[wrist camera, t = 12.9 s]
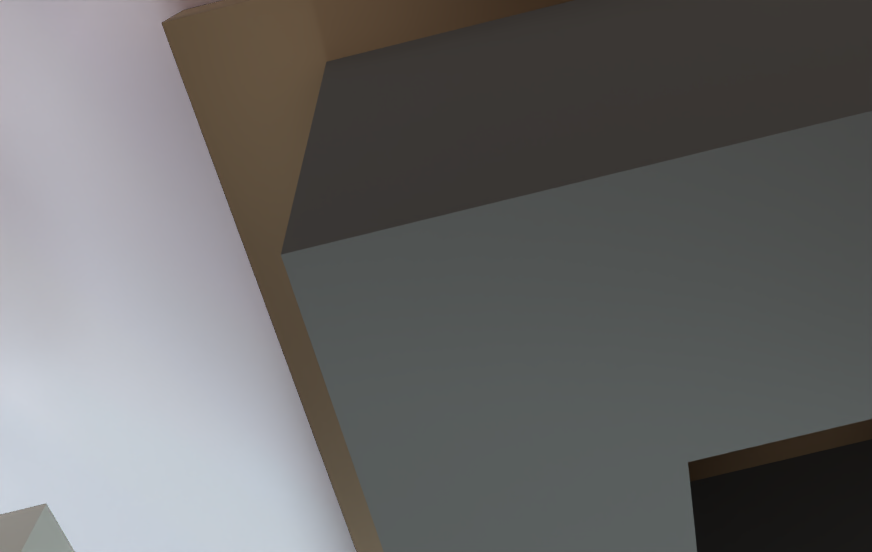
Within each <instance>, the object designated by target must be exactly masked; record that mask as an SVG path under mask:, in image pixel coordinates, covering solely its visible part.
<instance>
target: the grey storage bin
mask: <svg viewBox="0 0 872 552" xmlns="http://www.w3.org/2000/svg"><path fill="white" fill-rule="evenodd" d="M281 257H282V260H283V263H284V266H285V269H286V271H287V274H288V277H289V280H290V283H291V286H292V289H293V292H294V295H295V297H296V300H297V303H298V306H299V309H300V312H301V315H302V318H303V321H304V323H305V326H306V329H307V332H308V335H309V338H310V341H311V344H312V346H313V349H314V352H315V355H316V358H317V361H318V364H319V367H320V370H321V372H322V375H323V378H324V381H325V384H326V387H327V390H328V393H329V395H330V398H331V401H332V404H333V407H334V410H335V413H336V416H337V419H338V421H339V424H340V427H341V430H342V433H343V436H344V439H345V442H346V444H347V447H348V450H349V453H350V456H351V459H352V462H353V465H354V468H355V470H356V473H357V476H358V479H359V482H360V485H361V488H362V491H363V494H364V496H365V499H366V502H367V505H368V508H369V511H370V514H371V517H372V519H373V522H374V525H375V528H376V531H377V534H378V537H379V540H380V543H381V545H382V548H383V551H384V552H872V439H870V440H866V441H862V442H857V443H853V444H849V445H845V446H840V447H836V448H832V449H828V450H823V451H819V452H815V453H810V454H806V455H802V456H798V457H793V458H789V459H785V460H781V461H776V462H772V463H768V464H764V465H759V466H755V467H751V468H747V469H742V470H738V471H734V472H730V473H725V474H721V475H717V476H713V477H708V478H704V479H700V480H695V481H691V482H690V478H689V468H688V462H691V461H695V460H699V459H704V458H708V457H712V456H716V455H721V454H725V453H729V452H733V451H738V450H742V449H746V448H750V447H755V446H759V445H763V444H767V443H772V442H776V441H780V440H784V439H789V438H793V437H797V436H801V435H806V434H810V433H814V432H818V431H823V430H827V429H831V428H835V427H840V426H844V425H848V424H852V423H857V422H861V421H865V420H869V419H872V0H573V1H569V2H565V3H561V4H557V5H553V6H549V7H545V8H541V9H537V10H533V11H529V12H525V13H521V14H517V15H513V16H509V17H505V18H501V19H497V20H493V21H489V22H484V23H480V24H476V25H472V26H468V27H464V28H460V29H456V30H452V31H448V32H444V33H440V34H436V35H432V36H428V37H424V38H420V39H416V40H412V41H408V42H404V43H400V44H396V45H392V46H388V47H384V48H380V49H376V50H372V51H368V52H364V53H360V54H356V55H352V56H348V57H343V58H339V59H335V60H331V61H327V62H326V65H325V69H324V74H323V78H322V82H321V86H320V91H319V95H318V99H317V103H316V107H315V112H314V116H313V120H312V124H311V129H310V133H309V137H308V141H307V146H306V150H305V154H304V158H303V162H302V167H301V171H300V175H299V179H298V184H297V188H296V192H295V196H294V200H293V205H292V209H291V213H290V217H289V222H288V226H287V230H286V234H285V239H284V243H283V247H282V251H281Z"/></svg>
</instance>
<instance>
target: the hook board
mask: <svg viewBox="0 0 872 552" xmlns="http://www.w3.org/2000/svg"><path fill="white" fill-rule="evenodd" d="M569 1H573V0H222V1H218V2H214V3H210V4H206V5H202V6H198V7H194V8H190V9H186V10H183V11H181V12H179V13H178V14H176V15H174V16H173V17H171V18H169V19H167V20H166V21H164V22H162V26H163V28H164V31H165V34H166V36H167V39H168V42H169V45H170V47H171V50H172V53H173V55H174V58H175V61H176V64H177V66H178V69H179V72H180V74H181V77H182V80H183V83H184V85H185V88H186V91H187V93H188V96H189V99H190V101H191V104H192V107H193V110H194V112H195V115H196V118H197V120H198V123H199V126H200V129H201V131H202V134H203V137H204V139H205V142H206V145H207V148H208V150H209V153H210V156H211V158H212V161H213V164H214V167H215V169H216V172H217V175H218V177H219V180H220V183H221V186H222V188H223V191H224V194H225V196H226V199H227V202H228V204H229V207H230V210H231V213H232V215H233V218H234V221H235V223H236V226H237V229H238V232H239V234H240V237H241V240H242V242H243V245H244V248H245V251H246V253H247V256H248V259H249V261H250V264H251V267H252V270H253V272H254V275H255V278H256V280H257V283H258V286H259V289H260V291H261V294H262V297H263V299H264V302H265V305H266V307H267V310H268V313H269V316H270V318H271V321H272V324H273V326H274V329H275V332H276V335H277V337H278V340H279V343H280V345H281V348H282V351H283V354H284V356H285V359H286V362H287V364H288V367H289V370H290V373H291V375H292V378H293V381H294V383H295V386H296V389H297V392H298V394H299V397H300V400H301V402H302V405H303V408H304V410H305V413H306V416H307V419H308V421H309V424H310V427H311V429H312V432H313V435H314V438H315V440H316V443H317V446H318V448H319V451H320V454H321V457H322V459H323V462H324V465H325V467H326V470H327V473H328V476H329V478H330V481H331V484H332V486H333V489H334V492H335V495H336V497H337V500H338V503H339V505H340V508H341V511H342V513H343V516H344V519H345V522H346V524H347V527H348V530H349V532H350V535H351V538H352V541H353V543H354V546H355V549H356V551H357V552H384V551H383V548H382V545H381V543H380V540H379V537H378V534H377V531H376V528H375V525H374V522H373V519H372V517H371V514H370V511H369V508H368V505H367V502H366V499H365V496H364V494H363V491H362V488H361V485H360V482H359V479H358V476H357V473H356V470H355V468H354V465H353V462H352V459H351V456H350V453H349V450H348V447H347V444H346V442H345V439H344V436H343V433H342V430H341V427H340V424H339V421H338V419H337V416H336V413H335V410H334V407H333V404H332V401H331V398H330V395H329V393H328V390H327V387H326V384H325V381H324V378H323V375H322V372H321V370H320V367H319V364H318V361H317V358H316V355H315V352H314V349H313V346H312V344H311V341H310V338H309V335H308V332H307V329H306V326H305V323H304V321H303V318H302V315H301V312H300V309H299V306H298V303H297V300H296V297H295V295H294V292H293V289H292V286H291V283H290V280H289V277H288V274H287V271H286V269H285V266H284V263H283V260H282V257H281V251H282V247H283V243H284V239H285V234H286V230H287V226H288V222H289V217H290V213H291V209H292V205H293V200H294V196H295V192H296V188H297V184H298V179H299V175H300V171H301V167H302V162H303V158H304V154H305V150H306V146H307V141H308V137H309V133H310V129H311V124H312V120H313V116H314V112H315V107H316V103H317V99H318V95H319V91H320V86H321V82H322V78H323V74H324V69H325V65H326V62H327V61H331V60H335V59H339V58H343V57H348V56H352V55H356V54H360V53H364V52H368V51H372V50H376V49H380V48H384V47H388V46H392V45H396V44H400V43H404V42H408V41H412V40H416V39H420V38H424V37H428V36H432V35H436V34H440V33H444V32H448V31H452V30H456V29H460V28H464V27H468V26H472V25H476V24H480V23H484V22H489V21H493V20H497V19H501V18H505V17H509V16H513V15H517V14H521V13H525V12H529V11H533V10H537V9H541V8H545V7H549V6H553V5H557V4H561V3H565V2H569ZM870 439H872V419H869V420H865V421H861V422H857V423H852V424H848V425H844V426H840V427H835V428H831V429H827V430H823V431H818V432H814V433H810V434H806V435H801V436H797V437H793V438H789V439H784V440H780V441H776V442H772V443H767V444H763V445H759V446H755V447H750V448H746V449H742V450H738V451H733V452H729V453H725V454H721V455H716V456H712V457H708V458H704V459H699V460H695V461H691V462H688V468H689V478H690V482H691V481H695V480H700V479H704V478H708V477H713V476H717V475H721V474H725V473H730V472H734V471H738V470H742V469H747V468H751V467H755V466H759V465H764V464H768V463H772V462H776V461H781V460H785V459H789V458H793V457H798V456H802V455H806V454H810V453H815V452H819V451H823V450H828V449H832V448H836V447H840V446H845V445H849V444H853V443H857V442H862V441H866V440H870Z"/></svg>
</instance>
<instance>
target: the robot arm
mask: <svg viewBox="0 0 872 552" xmlns="http://www.w3.org/2000/svg"><path fill="white" fill-rule="evenodd" d="M0 552H75V551H74V550H73V548H72V546H71V545H70V543H69V541H68V539H67V538H66V536H65V534H64V533H63V531H62V529H61V528H60V526H59V524H58V522H57V521H56V519H55V517H54V516H53V514H52V512H51V510H50V509H49V507H48V505H47V504H42V505H38V506H34V507H30V508H25V509H21V510H17V511H13V512H9V513H5V514H1V515H0Z"/></svg>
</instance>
